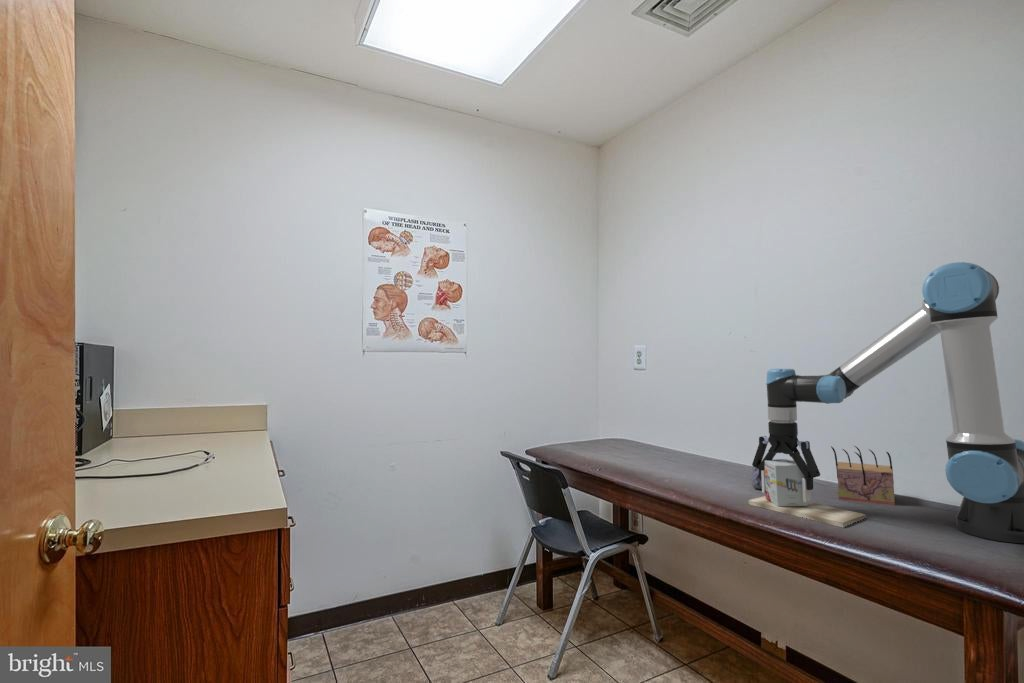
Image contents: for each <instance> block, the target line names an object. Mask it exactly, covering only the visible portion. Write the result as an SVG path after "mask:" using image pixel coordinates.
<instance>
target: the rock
mask: <svg viewBox="0 0 1024 683" xmlns="http://www.w3.org/2000/svg"><path fill="white" fill-rule="evenodd" d="M751 469H752V470H751V473H750V474H751V475H750V476H751V477H750V482H751V486H752V487H753V488H755V489H759V490H762V481H761V480H760V479H759V469H758V468H756V467H753V466H752V467H751Z"/></svg>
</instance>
